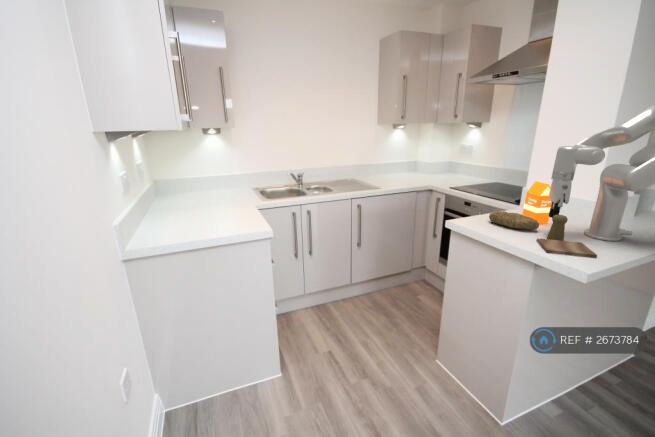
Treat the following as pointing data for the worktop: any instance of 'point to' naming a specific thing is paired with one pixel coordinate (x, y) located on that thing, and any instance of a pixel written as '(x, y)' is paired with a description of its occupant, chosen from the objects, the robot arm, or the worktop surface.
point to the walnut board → (566, 248)
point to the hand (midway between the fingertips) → (553, 217)
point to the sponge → (513, 220)
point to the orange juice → (538, 202)
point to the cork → (557, 228)
